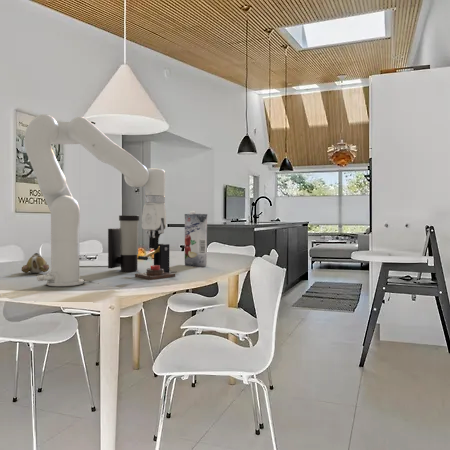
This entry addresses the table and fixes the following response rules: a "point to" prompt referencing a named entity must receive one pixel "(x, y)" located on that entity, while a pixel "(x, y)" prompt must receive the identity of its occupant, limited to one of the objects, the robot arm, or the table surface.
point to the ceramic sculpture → (36, 264)
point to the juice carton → (195, 239)
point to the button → (155, 267)
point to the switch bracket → (162, 257)
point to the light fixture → (124, 244)
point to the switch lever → (149, 254)
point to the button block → (155, 274)
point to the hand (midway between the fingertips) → (153, 248)
